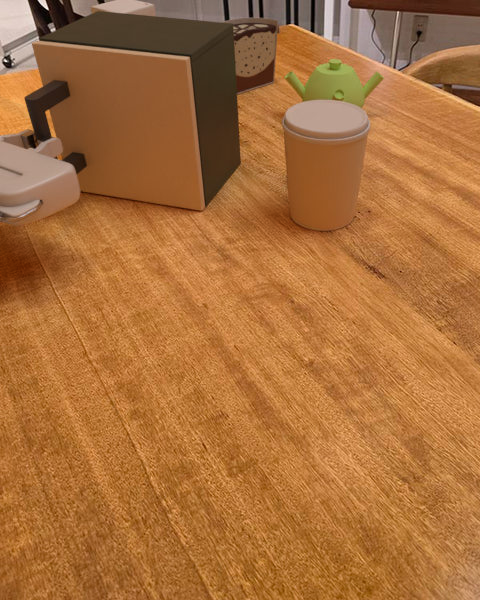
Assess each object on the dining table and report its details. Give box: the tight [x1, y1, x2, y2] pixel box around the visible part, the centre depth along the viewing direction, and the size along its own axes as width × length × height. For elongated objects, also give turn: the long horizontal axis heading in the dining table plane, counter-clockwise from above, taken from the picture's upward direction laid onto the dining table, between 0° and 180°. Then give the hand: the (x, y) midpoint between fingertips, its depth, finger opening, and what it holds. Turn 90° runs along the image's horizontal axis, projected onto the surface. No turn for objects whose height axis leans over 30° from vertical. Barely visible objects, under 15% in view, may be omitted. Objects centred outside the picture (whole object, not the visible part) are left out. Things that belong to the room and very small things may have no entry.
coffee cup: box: [281, 100, 371, 232], centre depth 66 cm, size 9×9×12 cm
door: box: [23, 40, 206, 212], centre depth 64 cm, size 7×18×17 cm, turn 74°
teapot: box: [284, 58, 385, 109], centre depth 90 cm, size 11×12×8 cm
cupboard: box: [38, 11, 242, 208], centre depth 71 cm, size 12×18×18 cm
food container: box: [221, 17, 281, 96], centre depth 99 cm, size 12×6×10 cm, turn 135°
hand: (47, 140), depth 63 cm, fingers closed on door, 2 cm apart
